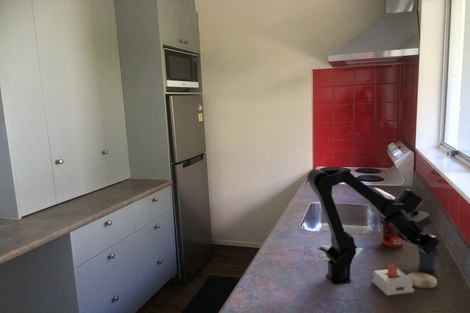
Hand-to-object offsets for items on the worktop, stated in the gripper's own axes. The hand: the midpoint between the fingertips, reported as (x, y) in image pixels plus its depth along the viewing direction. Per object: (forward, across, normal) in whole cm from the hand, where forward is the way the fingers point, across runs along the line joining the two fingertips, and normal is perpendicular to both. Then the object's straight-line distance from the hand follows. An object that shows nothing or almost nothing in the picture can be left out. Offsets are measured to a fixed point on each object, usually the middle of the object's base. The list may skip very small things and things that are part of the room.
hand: (429, 250), depth 131 cm
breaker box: (-9, -9, +19) cm, 23 cm away
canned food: (+5, +23, +5) cm, 24 cm away
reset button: (-11, -9, +17) cm, 22 cm away
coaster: (-1, -8, +11) cm, 14 cm away
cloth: (-12, +22, +22) cm, 34 cm away
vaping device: (+4, 0, +6) cm, 7 cm away
